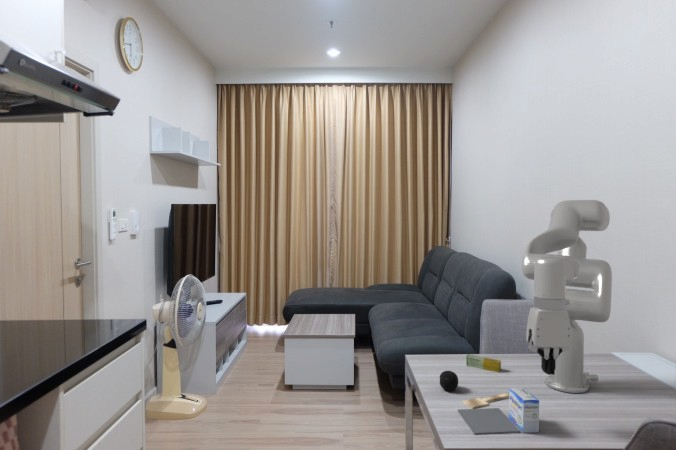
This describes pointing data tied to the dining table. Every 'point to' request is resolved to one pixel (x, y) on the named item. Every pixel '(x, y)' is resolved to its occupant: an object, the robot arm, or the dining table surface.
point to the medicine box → (524, 410)
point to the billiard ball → (448, 380)
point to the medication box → (484, 363)
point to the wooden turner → (484, 400)
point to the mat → (488, 421)
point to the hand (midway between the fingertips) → (548, 372)
